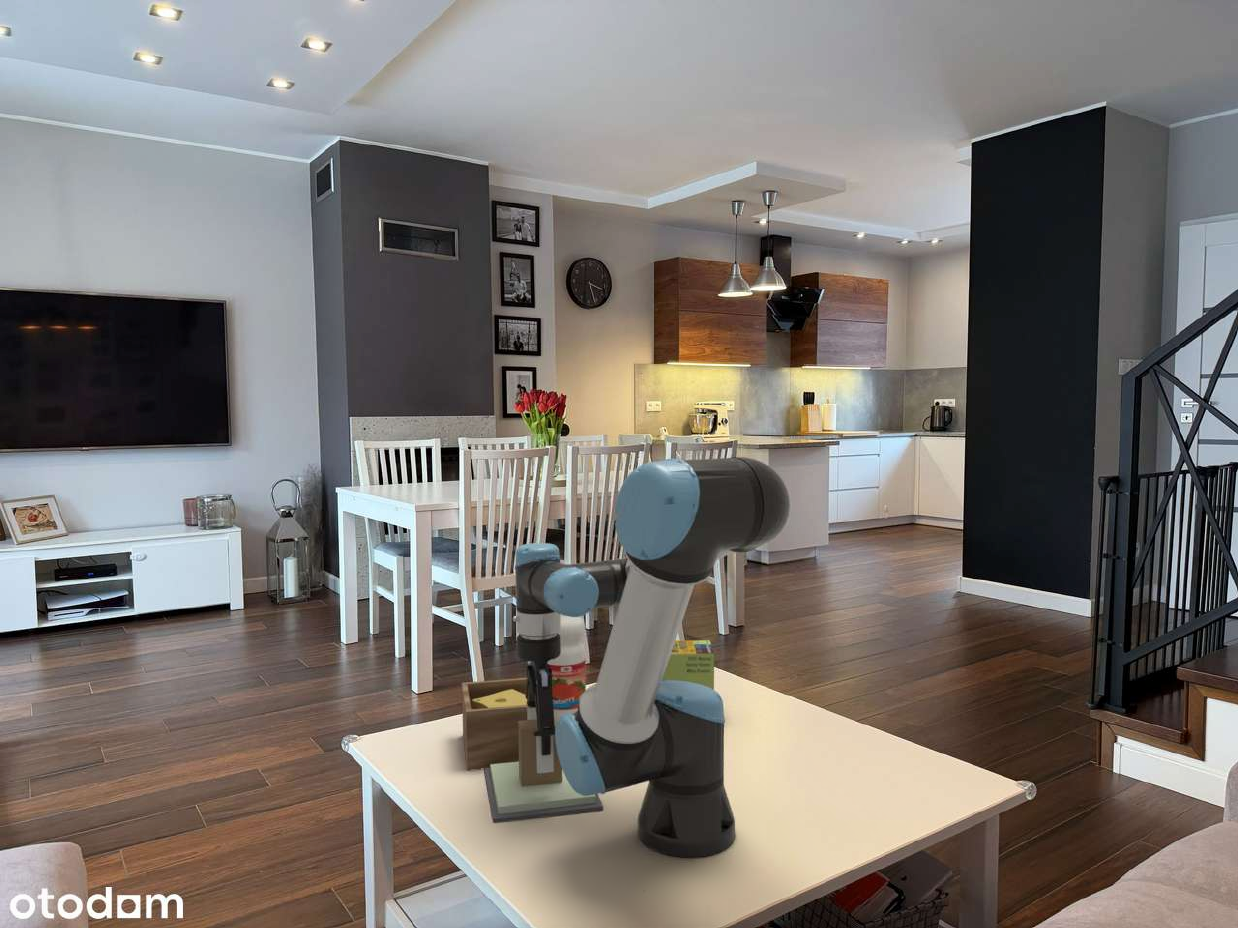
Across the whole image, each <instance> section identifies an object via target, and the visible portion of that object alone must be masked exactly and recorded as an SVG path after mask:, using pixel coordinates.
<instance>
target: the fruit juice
mask: <svg viewBox="0 0 1238 928" xmlns="http://www.w3.org/2000/svg"><path fill="white" fill-rule="evenodd" d="M582 617H583V616H580V617H570V616H564V615H562V614H561V631H560V632H559V633H558V634H559V635H560V638H561V653H560V656H559V657H557V658H556V659H552V660H550V661H548V664H549V666H550V668H551V669H552V676H553V678H552V693H553V708H554V718H557V717H558V718H560V717H561V716H563V715H566V713H575V712H577V710H578V706H579V703H580V700H581V697H582V695H583V693H584V692H585V691H586V690H587V685H586V684H587V683H586V681H587V680H586V679H587V678H586V676H587V675H586V674H587V673H586V646H585V643H584V642H583V641H584V640H583V637H584V633H585V622H584V619H583V618H582Z"/></svg>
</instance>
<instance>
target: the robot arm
mask: <svg viewBox="0 0 1238 928" xmlns="http://www.w3.org/2000/svg"><path fill="white" fill-rule="evenodd" d="M790 509H791V502H790V496H789V491H788V488H787V486H786V485H785V481H784V480H783V479H782V477H781V476H780V475H779V473H778V472H776V471H775V470H774V469H773V468H772V467H770V466H769V465H767V464H765V462H762V461H760V460H756V459H754V458H749V457H743V456H742V457H740V456H739V457H726V458H725V457H723V458H721V457H720V458H719V457H718V458H703V459H701V458H700V459H677V458H667V459H663V460H660V461H652V462H646V463H643V464H641V465H639V466H637V467H636V468H634V469H633V470H632V471H631V472H630V473H629V474H628V475H627V476H626V478H625V479H624V481H623V483H622V485H621V486H620V489H619V492H618V495H617V497H616V502H615V510H614V511H615V512H614V515H615V516H617V520H616V522H615V524H614V525H615V531H616V534H617V539H618V542H619V543H620V545H621V547H622V549H623V551H624V554H625V557H623V558H618V559H617V558H616V559H609V560H601V561H592V562H591V561H589V562H580V563H571V564H568V563H567V564H565V563H561V557H560V549H559V547H558V546H557V545H556V544H552V543H547V542H544V543H543V542H534V543H525V544H522V545H520V546H519V547H517V549H516V551H515V564H514V570H515V571H514V572H515V599H516V600H515V602H516V603H515V604H516V607H515V608H516V615H514V616H513V617H512V621H513V622H516V633H518V635H517V636H516V656H517V657H518V659H520V660H521V661H525V662H527V664H526V678H527V682H526V695H525V697H526V699H527V705H528V706H530V708H527V720H535V719H537V728H538V731H536V732H534V736H536V739H537V773H548V772H554V754H553V735H555V740H556V747H557V753H558V757H559V761H560V764H561V767H562V770H563V772H564V775H565V777H566V779H567V781H568V782H569V784H570V786H571V787H572V788H573V789H574V790H575V791H576V792H577V793H579V794H581V795H584V796H590V795H595V794H598V795H605V794H606V793H609V792H613V791H616V790H620V789H623V788H628V787H631V786H635V785H639V784H642V783H646V782H648V785H647V787H646V791H645V793H644V797H643V800H642V803H641V807H640V809H639V812H638V816H637V834H638V837H639V839H640V841H641V843H643V844H644V845H645V846H647V847H648V848H649V849H651V850H653V851H656V852H659V853H660V854H664V855H668V856H672V857H680V858H699V857H706V856H711V855H714V854H718V853H720V852H722V851H724V850H726V849H727V848H729V847H730V846H731V845H732V844H733V842H734V840H735V838H736V819H735V818H736V817H735V816H734V812H733V809H732V806H731V803H730V800H729V796H728V794H727V790H726V788H725V785H724V784H725V780H724V779H725V776H724V775H725V774H724V771H725V768H724V767H725V766H724V765H725V723H726V719H725V710H724V709H725V708H724V701H723V699H722V696H721V695H720V694H719V692H718V691H716V690H715V689H714V690H713V689H711V688H709V687H706V686H703V685H700V684H696V683H691V682H685V681H675V680H665V681H662V678H663V675H664V673H665V670H666V667H667V664H668V661H669V658H670V655H671V652H672V649H673V646H674V643H675V640H677V638H678V634H679V631H680V628H681V625H682V623H683V620H684V617H685V613H686V610H687V607H688V605H689V601H690V598H691V596H692V593H693V590H694V588H695V587H694V586H695V585H697V584H701V583H703V582H705V581H706V580H707V579H708V578H709V577H710V576H711V574H712V572H713V568H714V566H715V564H716V562H717V561H718V560H720V559H722V558H724V557H726V556H728V555H730V554H731V553H734V554H735V553H736V554H745V553H749V552H752V551H753V550H755V549H758V548H759V547H762V546H763V545H765V544H768V543H769V542H771V541H772V540H774V539H775V538H776V537H777V536H778V535H779V534H780V533H781V532H782V530H783V529H784V527H785V526H786V524H787V522H788V519H789V516H790ZM617 605H618V608H617V611H616V615H615V618H614V621H613V625H612V629H611V632H610V636H609V639H608V642H607V646H606V648H605V651H604V657H603V660H602V663H601V666H600V669H599V673H598V676H597V680H596V682H595V683H593V684H592V685H590V686H589V687H588V688H586V691H585V692H584V693H583V695H582V697H581V700H580V703H579V706H578V710H577V712H575V713H566V715H563V716H561V717H560V718H559V719H558V720H557V723H556V728H555V723H554V708H553V693H552V678H553V676H552V669H551V668H550V666H549V664H548V661H550V660H552V659H556V658H557V657H559V656H560V653H561V638H560V635H559V634H558V633H559V632H560V631H561V614H562V615H564V616H570V617H580V616H581V617H583V616H586V615H587V614H589V612H590V611H592V610H593V609H600V608H606V607H611V606H612V607H613V606H617ZM544 727H549V728H544Z"/></svg>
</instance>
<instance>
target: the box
mask: <svg viewBox="0 0 1238 928" xmlns="http://www.w3.org/2000/svg"><path fill="white" fill-rule="evenodd" d="M526 682H527V677H520V678H519V677H518V678H507V679H495V680H494V679H493V680H483V681H482V680H480V681H479V680H478V681H467V682H465V681H464V682H462V683H461V694H462V695H461V696H462V697H461V698H462V707H461V708H462V735H463V736H462V738H463V747H464V755H465V761H466V762H465V763H466V771H467V770H468V771H472V770H471V769H478V770H482V769H481V768H489V767H490V764H499V763H509V762H519V737H518V721H524V720H527V708H530V706H528V705H518V706H506V707H495V708H483V709H471V701H472V700H473V699H477V698H481V697H485V696H489V695H493V694H496V693H499V692H503V691H506V690H511V689H513V690H515V691H517V692H520V693H522V694H524V695H526Z"/></svg>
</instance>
